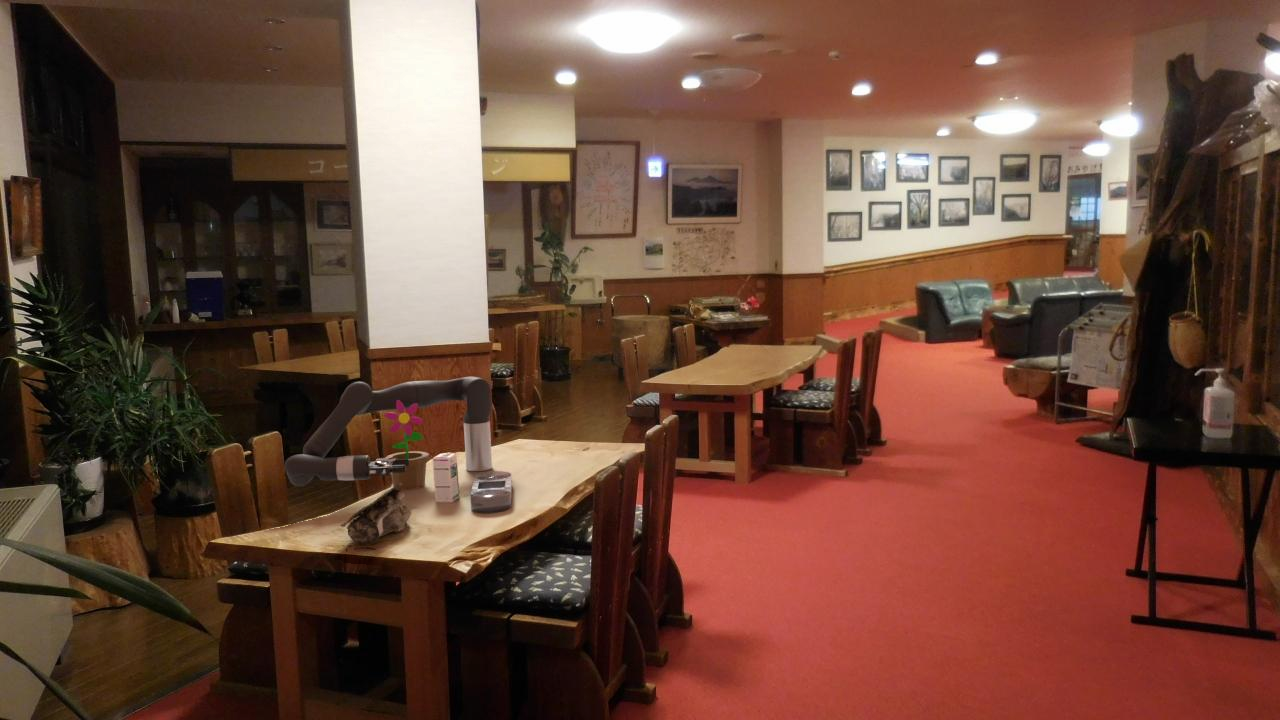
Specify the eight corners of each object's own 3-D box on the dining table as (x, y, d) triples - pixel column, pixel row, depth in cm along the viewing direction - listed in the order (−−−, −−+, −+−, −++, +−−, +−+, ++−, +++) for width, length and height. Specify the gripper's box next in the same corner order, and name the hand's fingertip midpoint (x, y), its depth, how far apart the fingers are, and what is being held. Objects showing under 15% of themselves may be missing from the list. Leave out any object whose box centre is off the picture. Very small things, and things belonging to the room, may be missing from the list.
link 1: (511, 500, 281) (510, 488, 281) (472, 503, 280) (471, 490, 279) (512, 481, 305) (511, 470, 304) (476, 484, 303) (475, 472, 303)
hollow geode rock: (358, 569, 238) (391, 530, 234) (323, 535, 239) (356, 497, 235) (406, 532, 265) (436, 497, 261) (374, 503, 266) (404, 467, 262)
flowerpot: (385, 493, 296) (379, 402, 292) (388, 482, 310) (382, 396, 306) (430, 489, 299) (425, 399, 295) (431, 478, 313) (426, 393, 309)
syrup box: (452, 502, 281) (450, 457, 280) (435, 502, 282) (432, 457, 281) (459, 497, 287) (457, 453, 285) (442, 497, 288) (439, 452, 286)
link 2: (474, 493, 292) (473, 481, 291) (511, 490, 293) (511, 478, 293) (469, 514, 268) (469, 501, 267) (510, 511, 269) (510, 498, 269)
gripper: (348, 461, 272) (403, 458, 274) (357, 451, 286) (409, 448, 288) (350, 485, 273) (404, 482, 275) (358, 474, 287) (410, 471, 289)
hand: (407, 465), depth 282 cm, fingers open, 8 cm apart
